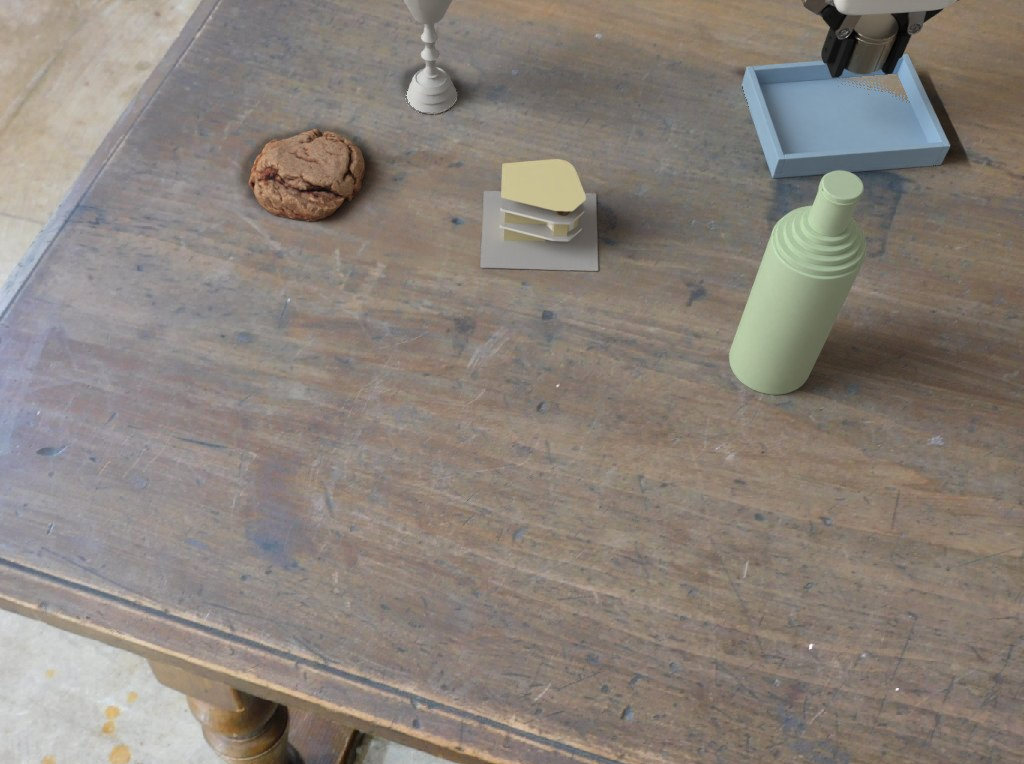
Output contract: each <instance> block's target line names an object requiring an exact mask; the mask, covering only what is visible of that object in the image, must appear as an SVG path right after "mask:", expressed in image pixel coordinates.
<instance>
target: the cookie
mask: <svg viewBox="0 0 1024 764" xmlns="http://www.w3.org/2000/svg"><path fill="white" fill-rule="evenodd" d="M365 162H366V161H365V158H364V157H363V153H362V150H361V149H360V147H359V146H357V145H356V144H355V142H353V141H352V140H351V139H349V138H347V137H345V136H344V135H342V134H340V133H337V132H333V131H329V130H325V131H324V132H322V131H320V130H318V129H317V128H313V129H311V130H306V131H303V132H301V133H299V134H297V135H294V136H290V137H288V138H281V140H279V139H278V138H274V139H272V140H271V141H268V142H267V143H266V144H265V145H264V147H263V149H262V151H261V153H260V154H258V155H257V156H256V158H255V160H254V162H253V166H252V168H251V170H250V171H251V172H250V173H251V174H250V176H249V179H248V186H249V188H250V189H251V190H252V191H253V194H254V196H255V198H256V200H257V202H258V204H259V205H260V206H262V208H263V209H265V210H266V212H268V213H270V214H273V215H274V216H275V217H277V216H280V217H282V218H288V219H291V220H301V221H303V220H305V221H306V222H312V221H313V222H316V221H317V220H321V219H325V218H326V217H330V216H332V215H333V214H334V213H336V210H338V209H339V208H340V207H341V206H342V204H343V203H344V201H346V200H347V201H349V202H351V201H352V199H353V198H354V197H355V196H356V195H357V194H359V192H360V191H361V189H362V183H363V179H364V177H365V172H366V166H365V165H366V163H365Z"/></svg>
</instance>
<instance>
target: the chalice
mask: <svg viewBox="0 0 1024 764" xmlns="http://www.w3.org/2000/svg"><path fill="white" fill-rule="evenodd" d="M403 2H404V4H405V5H406V7H407V8H408V10H409V12H410V13H411V15H412V17H413V18H414V20H415V21H416V22H418V23H419V24H422V25H423V26H424V28H423V33H421V35H420V39H421V40H422V42H423V43H424V49H423V50H421V52H420V57H421V58H422V59H423V60H424V62H425V67H423V68H421V69H419V70H418V71H417V72H416V73H414V75H413V77H412V78H411V82H410V83H409V85H408V89H407V90H408V91H407V90H406V92H407V95H406V94H405V96H407V99H408V103H409V102H410V105H411V106H412V107H414V108H415V109H416V110H419V111H421V112H431V113H433V112H440V111H443V110H444V109H448V108H449V106H450V107H451V106H452V105H453V103H454V102H455V100H456V97H457V93H458V91H457V92H456V90H457V88H456V87H455V85H454V82H453V81H452V79H451V77H450V75H449V73H447V71H445V70H444V69H443V68H441V67H437V66H436V61H437V59H439V57H440V54H441V53H440V51H439V49H437V48H436V46H435V45H436V42H437V41H438V39H439V34H438V32H436V28H435V24H437V23H439V22H440V21H442V20H443V18H444V17H445V15H446V13H447V10H449V7H450V6H451V3H452V2H453V0H403Z"/></svg>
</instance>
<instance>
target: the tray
mask: <svg viewBox="0 0 1024 764" xmlns="http://www.w3.org/2000/svg"><path fill="white" fill-rule="evenodd" d="M892 74H898V77H899V79H900V81H901V83H902V86H903V88H904V90H905V92H906V95H907V97H908V98H907V100H908V101H907V100H905V99H904V98H905V95H904V97H903V99H904V101H903V102H902V95H900V97H901V98H900V97H899V96H898V95H897V97H895V92H893V93H894V94H892V93H891V91H889V92H890V93H891V94H890V93H888V91H886V90H885V91H886V92H885V91H884V90H882V91H883V92H881V87H880V86H878V87H879V88H880V89H877V86H876V85H874V86H875V87H876V88H874V86H873V85H871V86H872V87H873V88H869V87H870V85H869V84H867V85H868V86H869V87H867V85H866V84H865V83H866V81H864V82H865V83H860V84H861V85H862V86H860V85H859V81H858V79H856V80H857V81H858V82H856V83H857V84H858V85H856V83H855V82H854V81H855V79H853V80H854V81H850V80H851V78H850V77H860V78H861V77H862V76H873V77H874V76H875V75H888V74H885V73H883V72H882V70H881V69H880V70H879V71H877V72H876V73H873V74H869V75H860V74H855V73H852V72H850V71H848V70H846V69H845V68H844V71H843V73H842V75H841V76H840V77H839V79H837V78H832V77H831V74H830V72H829V69H828V67H827V64H824V63H823V60H812V61H799V62H798V61H797V62H787V63H785V62H784V63H773V64H760V65H747V66H746V67H745V72H744V75H743V79H742V82H741V87H742V86H743V89H742V91H743V90H744V92H743V95H744V94H745V95H744V98H745V97H746V98H745V100H746V99H747V101H746V103H747V102H748V104H747V107H748V106H749V107H748V110H749V113H750V116H751V119H752V122H753V125H754V128H755V130H756V131H755V132H756V134H757V137H758V140H759V142H760V145H761V149H762V151H763V154H764V158H765V161H766V164H767V167H768V170H769V172H770V175H771V178H772V179H783V178H796V177H807V176H820V175H826V174H827V173H830V172H832V171H838V170H841V171H848V172H851V173H859V172H869V171H871V172H872V171H883V170H896V169H909V168H923V167H935V165H936V166H941V165H942V163H943V161H944V160H945V158H946V156H947V154H948V152H949V151H950V148H951V143H950V142H949V140H948V138H947V135H946V133H945V131H944V129H943V127H942V125H941V122H940V120H939V118H938V116H937V113H936V111H935V110H934V107H933V105H932V103H931V100H930V99H929V98H930V97H928V94H927V91H926V90H925V87H924V86H923V84H922V81H921V79H920V77H919V75H918V73H917V70H916V68H915V67H914V65H913V62H912V59H911V58H910V55H909V53H904V54H903V56H902V58H900V59H899V60H898V62H897V65H896V67H895V69H894V71H893V73H892ZM876 77H877V76H876ZM840 78H842V79H840ZM844 78H845V79H844ZM847 78H848V79H850V80H846V79H847ZM877 78H878V77H877ZM829 79H831V80H829ZM833 79H834V80H835V81H834V80H833ZM864 79H865V78H864ZM867 79H868V78H867ZM881 79H882V78H881ZM837 80H838V81H837ZM871 80H872V79H871ZM874 80H875V79H874ZM842 81H843V82H842ZM844 81H846V82H844ZM848 81H849V82H850V83H848ZM860 81H861V82H862V80H860ZM878 81H879V80H878ZM852 82H853V83H854V84H852ZM867 82H868V83H869V81H867ZM841 83H842V84H843V85H842V84H841ZM871 83H872V84H873V82H871ZM874 83H875V84H876V82H874ZM845 84H846V85H845ZM863 84H864V85H865V86H863ZM878 84H879V85H880V83H878ZM849 85H850V86H849ZM882 85H883V84H882ZM838 86H839V87H838ZM853 86H854V87H853ZM856 86H857V87H858V88H857V87H856ZM886 86H887V85H886ZM860 87H861V88H860ZM864 88H865V89H864ZM867 88H868V89H870V90H867ZM882 88H883V89H884V87H882ZM871 89H872V90H871ZM874 89H875V90H876V91H875V90H874ZM886 89H887V88H886ZM878 90H879V91H878ZM887 90H888V89H887ZM890 90H891V89H890ZM868 94H869V95H868ZM892 96H893V97H892ZM899 98H900V100H899ZM896 99H897V100H896ZM906 101H907V103H906ZM909 101H910V103H909ZM933 165H934V166H933Z"/></svg>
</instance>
